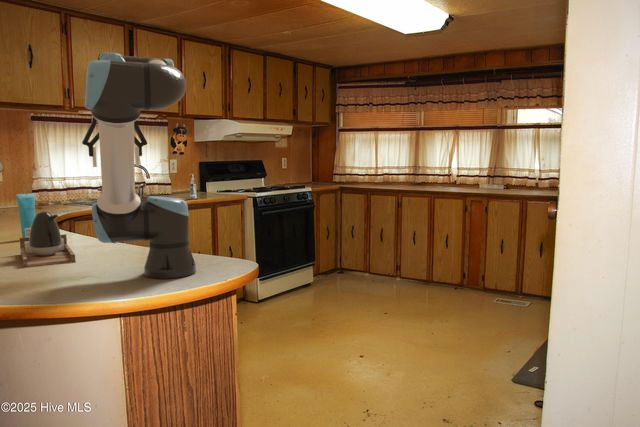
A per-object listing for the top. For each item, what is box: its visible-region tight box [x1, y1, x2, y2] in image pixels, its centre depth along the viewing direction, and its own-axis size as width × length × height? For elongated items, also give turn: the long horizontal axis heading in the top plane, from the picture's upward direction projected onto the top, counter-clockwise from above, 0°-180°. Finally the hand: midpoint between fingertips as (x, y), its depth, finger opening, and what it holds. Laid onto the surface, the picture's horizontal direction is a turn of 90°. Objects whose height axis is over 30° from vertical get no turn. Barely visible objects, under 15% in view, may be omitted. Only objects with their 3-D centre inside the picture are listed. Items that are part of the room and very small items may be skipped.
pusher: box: [25, 239, 64, 253], centre depth 191 cm, size 8×12×4 cm, turn 122°
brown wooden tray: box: [19, 234, 76, 268], centre depth 181 cm, size 24×15×6 cm, turn 32°
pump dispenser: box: [29, 210, 62, 256], centre depth 182 cm, size 10×10×15 cm
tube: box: [15, 192, 36, 238], centre depth 217 cm, size 7×5×19 cm, turn 152°
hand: (116, 166), depth 176 cm, fingers open, 13 cm apart
